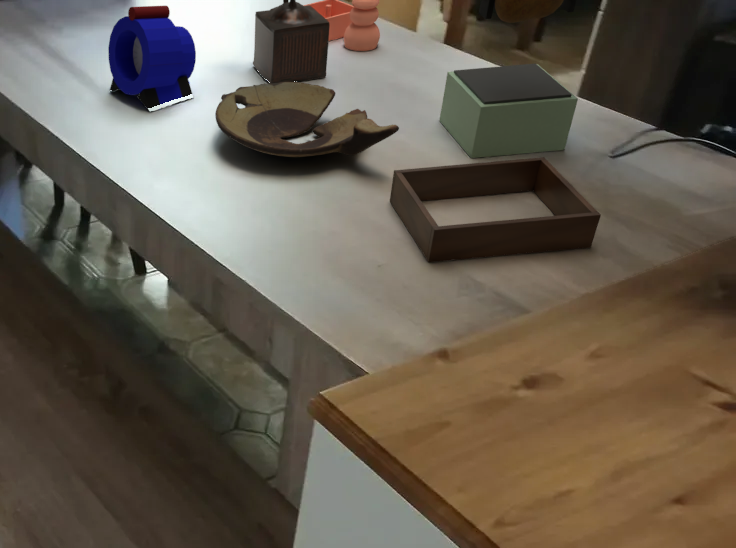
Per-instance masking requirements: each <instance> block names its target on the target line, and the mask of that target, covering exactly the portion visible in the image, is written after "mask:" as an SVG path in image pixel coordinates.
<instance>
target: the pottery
mask: <svg viewBox="0 0 736 548" xmlns="http://www.w3.org/2000/svg"><path fill="white" fill-rule="evenodd" d="M379 4H380V0H351V4H349V3H347V2H344V1H341V0H320V1H319V0H318V1H316V2H311V3H307V4H302V5H303V6H307V5H310V6H311V7H312V8H314V9H315V10H316V11H317V12H318V13H319V14H321V15H322V16H323V17H324V18H325V19H326V20H327V21H328V22H329V24H330V27H329V41H328V42H330V41H335V40H338V39H342V38H343V42H344V47H345V49H348V50H349V51H356V52H368V51H373V50H375V49H376V48H377V47H378V45H379V42H380V39H381V32H380V28H379V26H378V25H377V24H376V23H375V22H377V21H378V20H379V19H378V18H379V16H380V12H379V9H378V8H377V6H379Z"/></svg>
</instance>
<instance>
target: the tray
mask: <svg viewBox="0 0 736 548" xmlns="http://www.w3.org/2000/svg"><path fill="white" fill-rule="evenodd" d="M523 192H525V193H526V192H534V194H535V195H536V196H537V197H538V198H539V199H540V200H541V202H542V203H544V205H545V206H546V207H547V208H548V209H549V210H550V211H551V212H552V214H553V215H548V216H538V217H537V216H535V217H524V218H515V219H514V218H513V219H504V220H494V221H493V220H492V221H480V222H471V223H470V222H469V223H459V224H447V225H439V224H438V223H437V222H436V220H435V219H434V218H433V216H432V214H431V213H430V212H429V210H428V209H427V208H426V206H425V204H424V203H423V202H424V201H436V200H447V199H458V198H468V197H469V198H470V197H480V196H491V195H502V194H503V195H504V194H515V193H523ZM389 203H390V204H391V205H392V207H393V209H394V210H395V212H396V213H397V215H398V216H399V218H400V220H401V221H402V223H403V224H404V226H405V228H406V229H407V231H408V232H409V234H410V235H411V237H412V238H413V240H414V241H415V243H416V245H417V246H418V248H419V249H420V251H421V253H422V254H423V256H424V258H425V259H426V261H427V262H428V263H438V262H447V261H457V260H458V261H459V260H460V261H461V260H470V259H482V258H491V257H492V258H493V257H503V256H513V255H525V254H535V253H547V252H557V251H567V250H579V249H590V248H592V245H593V243H594V239H595V235H596V233H597V229H598V227H599V223H600V221H601V220H600V219H601V216H602V214H601V213H600V212H599V211H598V210H597V209H596V208H595V207H594V206H593V205H592V204H591V203H590V202H589V201H588V200H587V199H586V198H585V197H584V195H583V194H581V193H580V192H579V191H578V190H577V188H575V187H574V185H572V184H571V183H570V181H568V180H567V178H566V177H565V176H564V175H563V174H562V173H560V171H559V170H558V169H557V168H556V167H555V166H554V165H553V164H552V163H551V162H550V161H549V160H548V159H547V158H546V157H545V156H540V157H529V158H519V159H507V160H496V161H484V162H474V163H473V162H472V163H461V164H450V165H439V166H438V165H437V166H428V167H417V168H416V167H415V168H405V169H394V170H393V174H392V182H391V189H390V195H389Z"/></svg>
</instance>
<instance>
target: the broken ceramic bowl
mask: <svg viewBox="0 0 736 548" xmlns="http://www.w3.org/2000/svg"><path fill="white" fill-rule="evenodd" d="M335 97H336V92H335V90H334V88H333V89H332V88H329V87H325V86H321V85H319V84H310V83H306V82H304V81H301V82H280V83H259V84H253V85H250V86H239V87H237V88H236V90H235V91H233V92H229V93H224V94H222V95H221V97H220V100H221V101H220V102H219V103H218V105H217V106H216V110H215V115H214V117H215V121H216V124H217V126H218V128H219V129H220V130H221V132H222V133H223V134H224V135H226V137H228V138H230V139H231V140H233V141H235V142H236V143H238V144H240V145H242V146H244V147H246V148H248V149H251V150H254V151H257V152H259V153H263V154H267V155H272V156H277V157H284V158H285V157H286V158H305V157H306V158H307V157H314V156H321V155H322V156H323V155H326V154H332V153H340V154H343V155H346V156H356V155H359V154H361V153H363V152H364V151H366V150H367V149H369V148H371V147H373V146H374V145H376V144H378V143H380V142H382V141H384V140H386V139H388V138H390V137H391V136H393V135H394V134H396V133H397V132H398V131H399V130H400V127H399V125H397V124H390V125H382V126H380V125H378V124H377V123H376V121H374V120H373V119H372V118H368V113H367V111H366V110H365V109H364V110H361V109H359V108H355V109H353V110H351V111H349V112H345V114H343V115H341V116H338V117H336V118H335V117H334V119H332V120H329V121H327V122H324V123H323V124H320V125H318V126H315V125H316V124H317V123H318V121H319V120H321V118H322V116H323V115H324V113H325V112H326V110H327V109H328V107H329V106H330V105H331V103H332V102H333V100H334V98H335ZM237 104H238V105H242V106H244V107H242V108H239V107H238V105H237ZM314 126H315V127H314ZM313 127H314V128H313ZM311 128H313V129H312V130H311ZM310 130H311V132H312V133H313V135H314V136H316V137H317V138H315V139H313V140H307V141H305V142H300V143H296V142H292V141H289V140H287V139H285V138H290V137H296V136H300V135H303V134H305V133H306V132H309V131H310Z"/></svg>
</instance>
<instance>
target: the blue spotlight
mask: <svg viewBox="0 0 736 548" xmlns="http://www.w3.org/2000/svg"><path fill="white" fill-rule="evenodd" d="M170 13H171V11H170V8H169V6H168V5H148V6H146V5H145V6H130V7H129V8H128V12H127V16H126V15H125V16H123V17H121V18H119V19H118V20H117V21H116V23H115V24H114V25H113V28H112V30H111V33H110V35H109V41H108V46H107V47H108V50H107V51H108V64H109V70H110V73H111V76H112V80H111V84H110V87H109V91H110V90H112V92H115V91H121V92H122V93H123V94H125V95H130V96H136V95H137V99H138V100H139V101H140V102H141V104H143V106H144V107H145V106H146V107H147V108H152V107H154V106H157V105H160V104H163V103H165V102H169V101H171V100H174V99H178V98H181V97H185V96H188V95H190V94H193V92H192V88H191V84H190V81H189V78H191V76H192V74H193V72H194V70H195V67H196V66H195V65H196V57H197V51H196V44H195V41H194V38H193V37H192V36H193V35H192V34H191V33H190V31H189V30H188V29H187V28H186V27H184V26H177V25H175V23H174V22H173V21H172V19H171V18H170V15H171V14H170ZM146 107H145V108H146ZM147 108H146V109H147Z"/></svg>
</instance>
